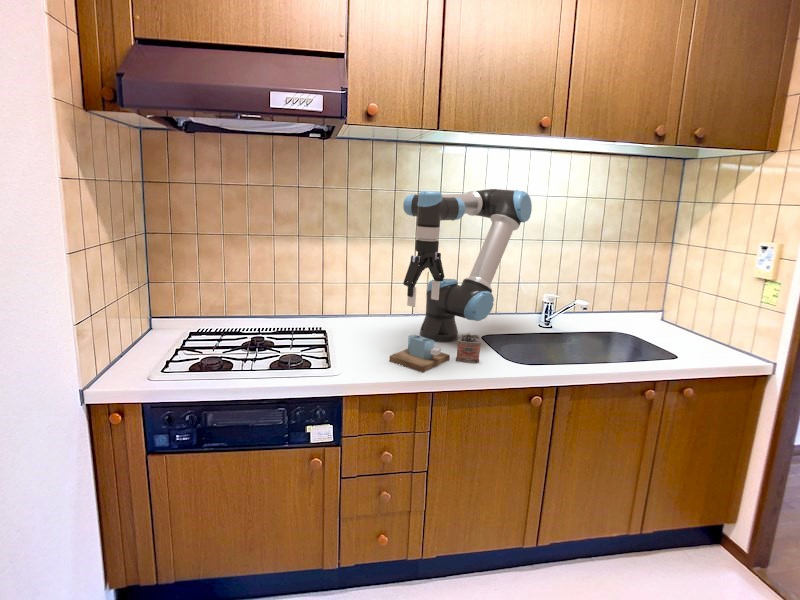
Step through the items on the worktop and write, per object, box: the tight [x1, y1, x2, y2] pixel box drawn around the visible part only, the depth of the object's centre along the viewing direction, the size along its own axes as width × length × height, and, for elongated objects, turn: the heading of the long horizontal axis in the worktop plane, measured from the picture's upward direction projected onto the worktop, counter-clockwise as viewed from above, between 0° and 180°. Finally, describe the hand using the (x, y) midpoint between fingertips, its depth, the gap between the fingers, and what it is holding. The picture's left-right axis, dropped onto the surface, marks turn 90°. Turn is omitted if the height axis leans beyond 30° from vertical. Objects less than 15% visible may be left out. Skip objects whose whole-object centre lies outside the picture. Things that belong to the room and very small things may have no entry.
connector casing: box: [407, 334, 442, 360], centre depth 170 cm, size 4×12×6 cm, turn 52°
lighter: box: [455, 332, 482, 364], centre depth 173 cm, size 8×3×10 cm, turn 82°
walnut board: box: [389, 348, 451, 373], centre depth 172 cm, size 16×14×2 cm
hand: (423, 302), depth 167 cm, fingers open, 13 cm apart
